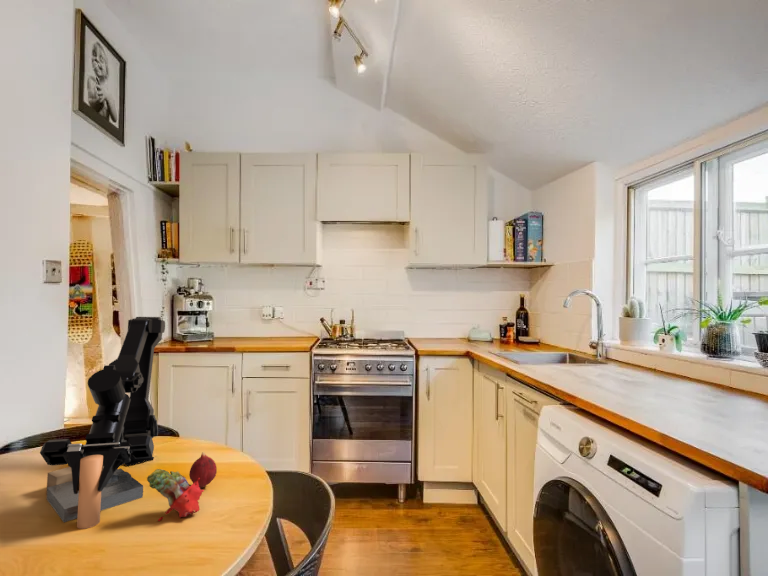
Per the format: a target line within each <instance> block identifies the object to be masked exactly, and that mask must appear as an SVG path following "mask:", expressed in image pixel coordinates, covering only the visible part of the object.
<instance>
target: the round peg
mask: <svg viewBox="0 0 768 576" xmlns="http://www.w3.org/2000/svg"><path fill="white" fill-rule="evenodd" d="M102 469H103V455H90V456H86V457H84V458H82V459H81V460H80V477H79V496H78V515H77V518H76V528H77V529H79V530H85V529H90V528H93V527H95V526H97V525H98V524H100V522H101V511H100V509H101V492H99V491H98V486H99V481H100V478H101V475H102Z"/></svg>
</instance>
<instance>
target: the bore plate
mask: <svg viewBox="0 0 768 576" xmlns="http://www.w3.org/2000/svg"><path fill="white" fill-rule="evenodd" d="M78 496H79V491H78V493H77V494H74V492H73V481H70V482H66V483H62V484H59V485H55V486H51V487H47V486H46V501H47V502H48V503H49V505H51V507H52V508H53V510H54V511H55V512H56V515H58V517H59V518H60V519H61V522H63V523H67V522H69V521H73V520H75V519H76V520H77V515H78ZM143 497H144V485H143V484H142V483H141V482H139V481H138V480H136V479H135V477H133V476H132V474H130V473H129V471H125V470H123V469H122V468H120V467H119V468H118V469H117V470H116V471H115V472H114V474H113V475H112V477H111V478H110V480H109V481H108V483H107V484H106V485H105V487H104V488H103V490H102V491H101V509H100V512H101V511H105V510H107V509H111V508H113V507H116V506H120V505H123V504H126V503H130V502H132V501H136V500H138V499H142V498H143Z"/></svg>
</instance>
